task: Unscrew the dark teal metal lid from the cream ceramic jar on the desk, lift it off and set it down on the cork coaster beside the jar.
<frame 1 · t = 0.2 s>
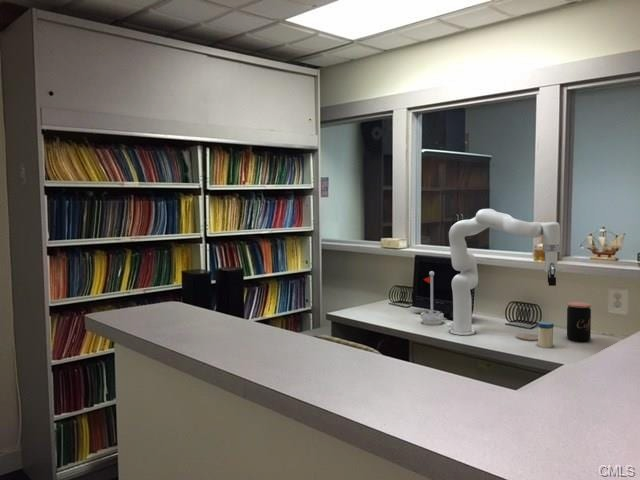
hand: (551, 284, 255), 30 cm above the table, tool pointing down, fingers open, 9 cm apart
coffee jar: (578, 340, 267), on the table
jar: (545, 345, 258), on the table
lid: (545, 323, 257), point 11 cm above the table, screwed on, not yet turned
coaster: (528, 337, 272), on the table
flag stand: (432, 323, 311), on the table
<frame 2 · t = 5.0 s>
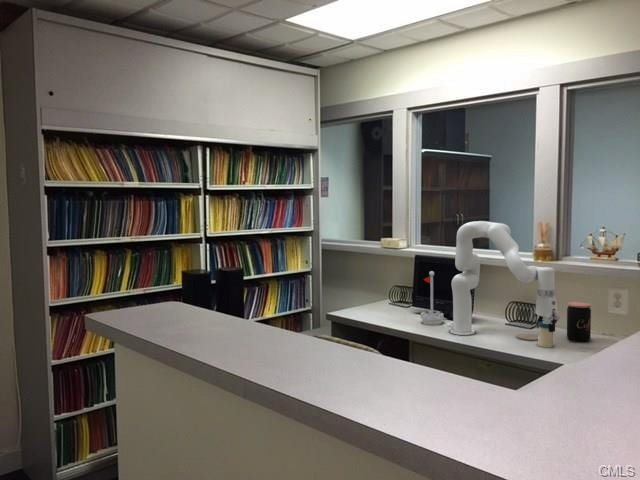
hand: (546, 329, 257), 8 cm above the table, tool pointing down, fingers closed on lid, 6 cm apart
jar: (545, 345, 258), on the table, touching gripper
lid: (546, 323, 257), point 11 cm above the table, turned 128° so far, risen 0.2 cm, still on its thread, touching gripper
everything else where it was.
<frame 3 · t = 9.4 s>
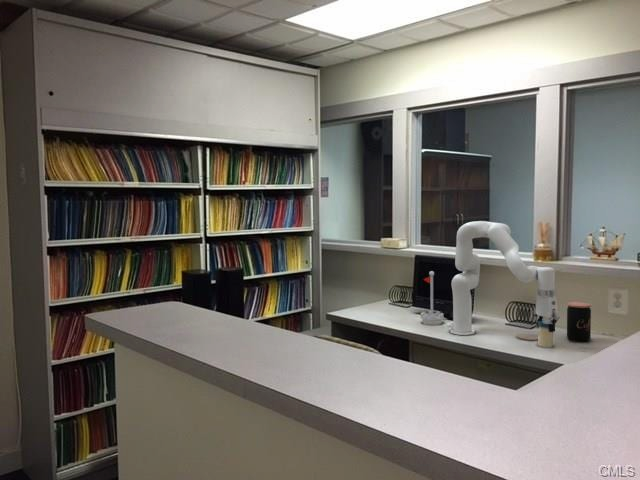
hand: (546, 329, 257), 8 cm above the table, tool pointing down, fingers closed on lid, 6 cm apart
jar: (545, 345, 258), on the table
lid: (545, 322, 257), point 11 cm above the table, turned 252° so far, risen 0.4 cm, still on its thread, touching gripper
everything else where it was.
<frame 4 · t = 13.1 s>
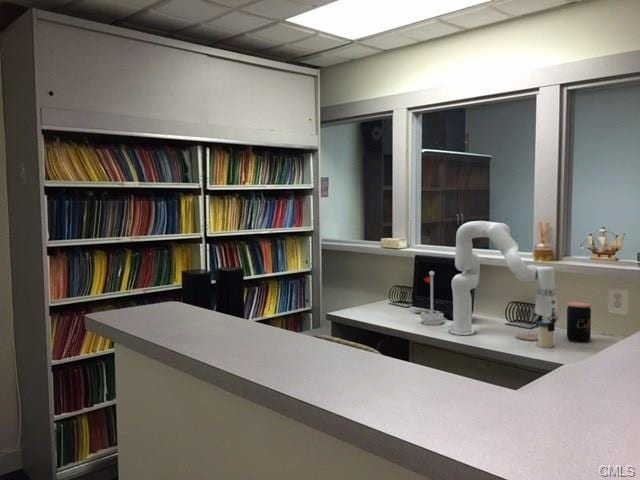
hand: (545, 329, 257), 8 cm above the table, tool pointing down, fingers closed on lid, 6 cm apart
jar: (545, 345, 257), on the table, touching gripper
lid: (545, 322, 257), point 11 cm above the table, off its thread, touching gripper
everything else where it was.
when the fingers open (2 cm above the table, at t = 29.6 s): lid drops 3 cm, resting on coaster.
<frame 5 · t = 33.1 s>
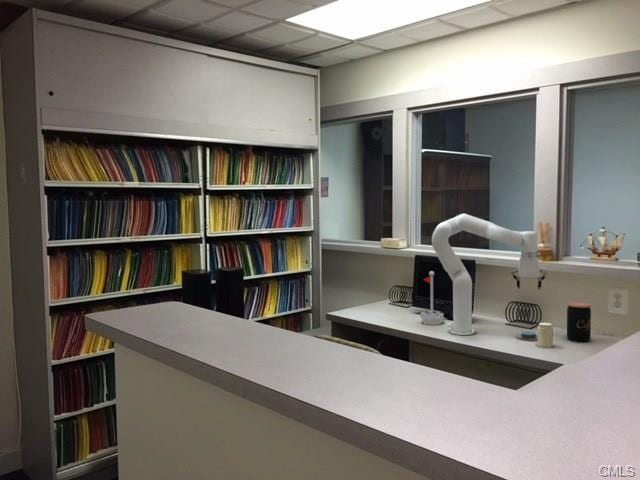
hand: (528, 288, 276), 24 cm above the table, tool pointing down, fingers open, 9 cm apart
jar: (545, 345, 257), on the table
lid: (528, 333, 272), point 2 cm above the table, off its thread, touching coaster
everything else where it was.
at the end: the gripper is holding nothing; lid point 2.1 cm above the table; lid 0.1 cm from the coaster (horizontally) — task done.
